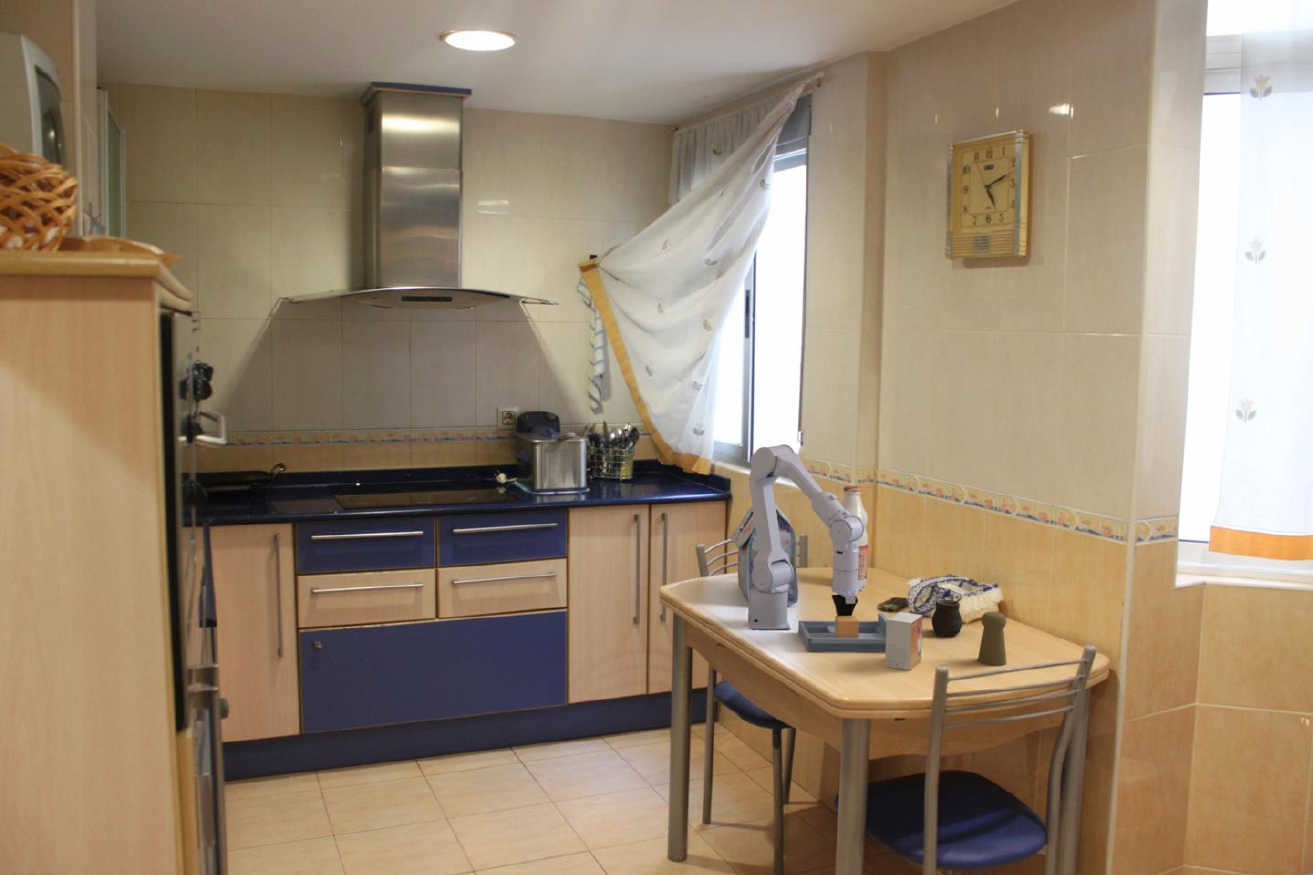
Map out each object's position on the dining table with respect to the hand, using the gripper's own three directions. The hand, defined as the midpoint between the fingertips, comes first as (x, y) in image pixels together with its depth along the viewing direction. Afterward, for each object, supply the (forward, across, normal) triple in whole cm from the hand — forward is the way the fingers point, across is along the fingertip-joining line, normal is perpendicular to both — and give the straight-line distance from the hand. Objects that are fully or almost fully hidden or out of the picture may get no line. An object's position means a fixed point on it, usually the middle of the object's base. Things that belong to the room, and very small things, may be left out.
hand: (843, 626), depth 253 cm
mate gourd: (+4, +6, -26) cm, 27 cm away
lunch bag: (+4, +42, +14) cm, 44 cm away
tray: (+4, 0, 0) cm, 4 cm away
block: (+2, -4, 0) cm, 4 cm away
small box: (+4, -16, -10) cm, 20 cm away
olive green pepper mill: (+4, -15, -30) cm, 34 cm away
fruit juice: (+4, +56, -12) cm, 57 cm away
